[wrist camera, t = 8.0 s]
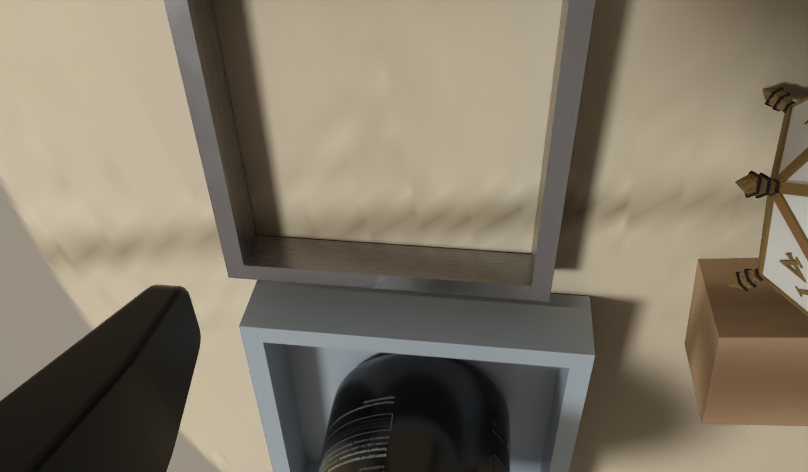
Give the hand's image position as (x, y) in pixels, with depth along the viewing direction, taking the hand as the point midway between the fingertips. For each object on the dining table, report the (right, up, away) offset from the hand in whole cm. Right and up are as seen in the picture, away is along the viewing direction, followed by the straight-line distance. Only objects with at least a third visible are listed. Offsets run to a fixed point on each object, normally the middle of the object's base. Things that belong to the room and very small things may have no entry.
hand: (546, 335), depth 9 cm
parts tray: (-1, -5, +20) cm, 21 cm away
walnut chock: (+11, -1, +15) cm, 19 cm away
